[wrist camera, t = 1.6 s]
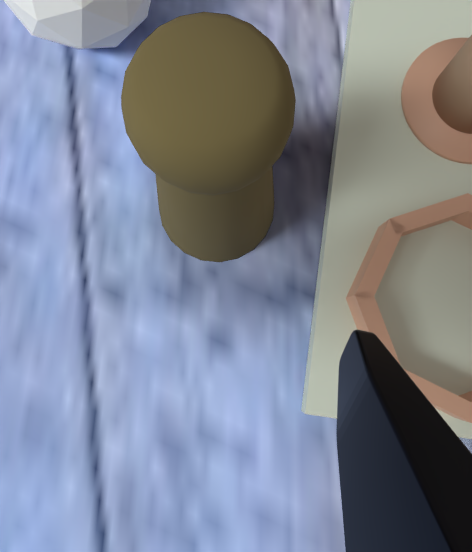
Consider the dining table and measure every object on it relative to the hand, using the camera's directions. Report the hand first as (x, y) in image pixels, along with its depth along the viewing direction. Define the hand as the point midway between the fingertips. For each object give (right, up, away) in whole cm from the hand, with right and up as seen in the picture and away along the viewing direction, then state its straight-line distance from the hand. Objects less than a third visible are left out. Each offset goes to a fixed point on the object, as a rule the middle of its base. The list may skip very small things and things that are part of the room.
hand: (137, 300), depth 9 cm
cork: (+1, +4, +13) cm, 14 cm away
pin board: (+13, +4, +13) cm, 19 cm away
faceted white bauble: (-5, +17, +15) cm, 23 cm away
